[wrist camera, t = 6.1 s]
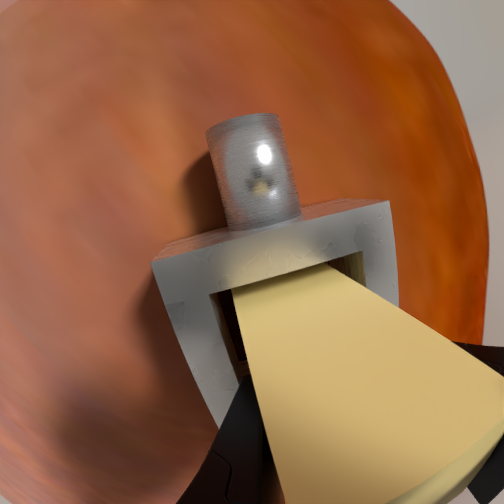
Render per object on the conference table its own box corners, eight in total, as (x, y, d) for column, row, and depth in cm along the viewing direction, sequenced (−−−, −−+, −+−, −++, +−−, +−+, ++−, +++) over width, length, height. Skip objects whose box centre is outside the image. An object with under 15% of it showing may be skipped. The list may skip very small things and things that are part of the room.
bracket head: (362, 390, 16) (390, 427, 12) (238, 431, 15) (246, 478, 11) (323, 120, 12) (363, 95, 8) (147, 158, 11) (119, 141, 7)
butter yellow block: (331, 337, 13) (462, 492, 3) (252, 362, 12) (316, 566, 3) (320, 260, 12) (525, 392, 2) (230, 285, 11) (296, 536, 2)
